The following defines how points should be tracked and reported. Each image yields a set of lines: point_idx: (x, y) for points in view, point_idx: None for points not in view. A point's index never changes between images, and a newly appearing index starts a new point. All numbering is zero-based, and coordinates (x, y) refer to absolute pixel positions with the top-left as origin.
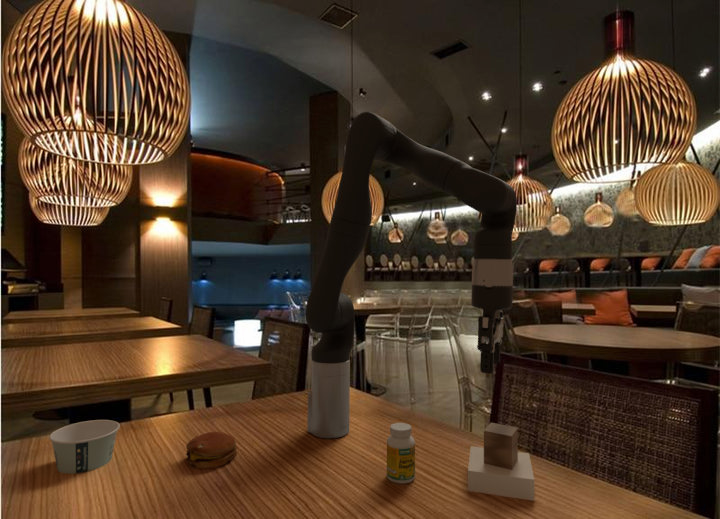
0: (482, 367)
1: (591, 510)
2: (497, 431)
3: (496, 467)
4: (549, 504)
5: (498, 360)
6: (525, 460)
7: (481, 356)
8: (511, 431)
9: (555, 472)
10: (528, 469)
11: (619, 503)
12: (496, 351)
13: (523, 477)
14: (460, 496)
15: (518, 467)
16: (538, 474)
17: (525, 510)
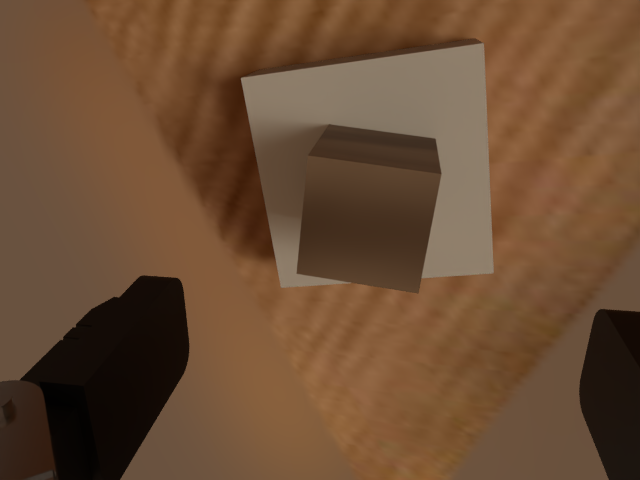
0: (89, 314)
1: (311, 382)
2: (326, 214)
3: None
4: (292, 295)
5: (588, 415)
6: None
7: (68, 359)
8: (353, 270)
9: (511, 320)
10: None
11: (378, 442)
12: (626, 471)
13: (280, 258)
14: (211, 53)
15: None
16: None
17: (230, 239)
